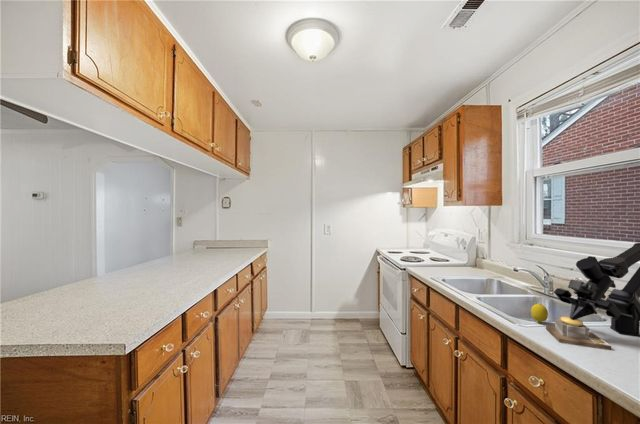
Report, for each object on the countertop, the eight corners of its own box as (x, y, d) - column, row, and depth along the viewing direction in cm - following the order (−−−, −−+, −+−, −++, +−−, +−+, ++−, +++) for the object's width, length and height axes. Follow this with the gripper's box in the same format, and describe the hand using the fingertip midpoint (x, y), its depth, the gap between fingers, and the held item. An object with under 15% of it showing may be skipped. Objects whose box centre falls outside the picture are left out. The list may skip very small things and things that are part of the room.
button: (577, 331, 105) (577, 318, 105) (586, 337, 99) (586, 324, 99) (557, 328, 107) (557, 315, 107) (564, 334, 101) (565, 321, 101)
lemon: (548, 322, 117) (548, 303, 117) (547, 326, 112) (547, 306, 112) (531, 319, 120) (531, 300, 120) (530, 322, 116) (530, 303, 116)
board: (591, 335, 105) (591, 321, 105) (611, 350, 94) (611, 335, 94) (545, 329, 110) (546, 316, 110) (559, 342, 99) (559, 328, 99)
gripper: (558, 267, 113) (534, 296, 111) (615, 278, 95) (588, 313, 93) (573, 286, 115) (550, 315, 113) (632, 301, 97) (606, 335, 94)
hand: (571, 318), depth 103 cm, fingers closed, pressing on button
